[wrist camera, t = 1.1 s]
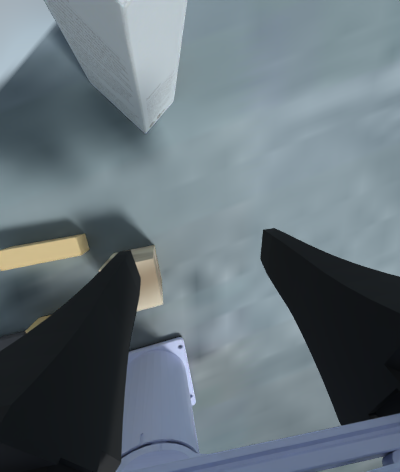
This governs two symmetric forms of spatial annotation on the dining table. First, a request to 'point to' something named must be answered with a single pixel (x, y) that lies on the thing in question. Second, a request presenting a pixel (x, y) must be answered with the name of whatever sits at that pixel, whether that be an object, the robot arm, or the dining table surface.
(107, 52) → the skincare box
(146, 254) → the plug block
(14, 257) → the pair of wooden bars
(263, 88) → the dining table surface
